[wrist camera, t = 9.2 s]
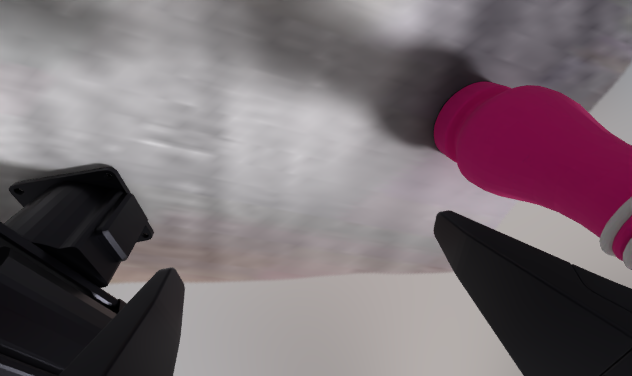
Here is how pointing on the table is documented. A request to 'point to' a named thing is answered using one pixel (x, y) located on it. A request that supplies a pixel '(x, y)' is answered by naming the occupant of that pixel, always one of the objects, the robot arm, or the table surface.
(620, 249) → the pepper mill
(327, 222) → the table surface
